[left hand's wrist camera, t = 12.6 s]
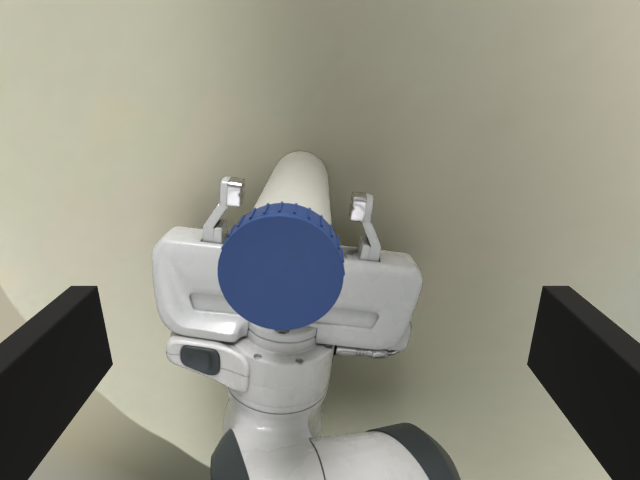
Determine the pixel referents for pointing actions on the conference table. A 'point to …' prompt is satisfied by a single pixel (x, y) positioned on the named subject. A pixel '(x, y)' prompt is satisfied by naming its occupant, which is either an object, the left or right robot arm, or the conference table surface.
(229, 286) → the lid
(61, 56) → the conference table surface
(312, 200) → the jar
